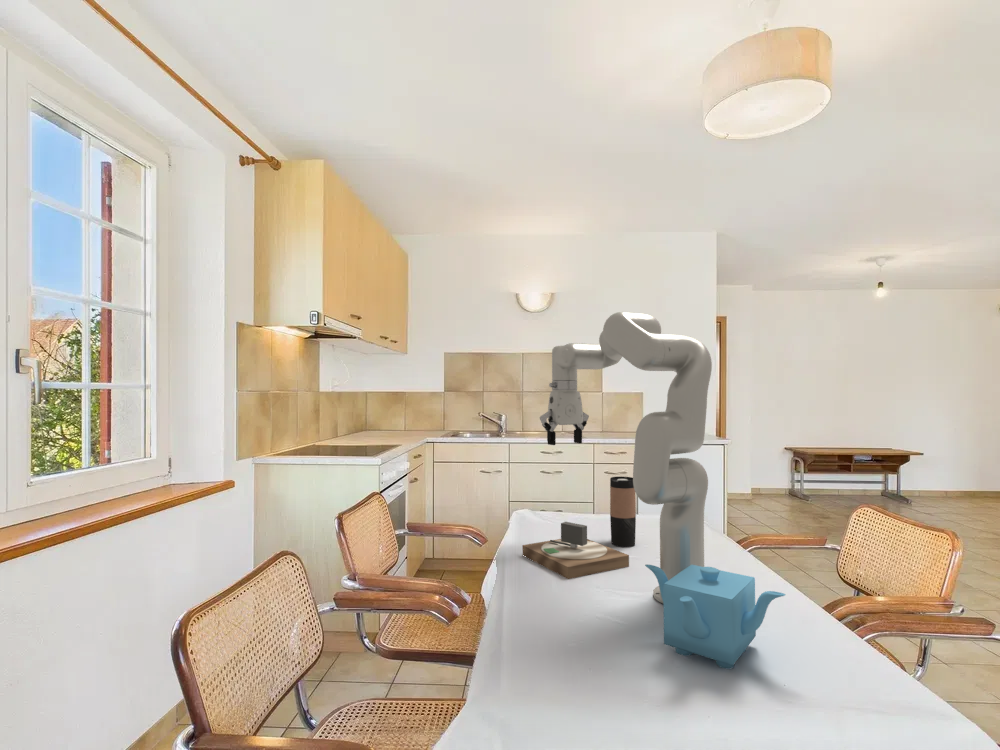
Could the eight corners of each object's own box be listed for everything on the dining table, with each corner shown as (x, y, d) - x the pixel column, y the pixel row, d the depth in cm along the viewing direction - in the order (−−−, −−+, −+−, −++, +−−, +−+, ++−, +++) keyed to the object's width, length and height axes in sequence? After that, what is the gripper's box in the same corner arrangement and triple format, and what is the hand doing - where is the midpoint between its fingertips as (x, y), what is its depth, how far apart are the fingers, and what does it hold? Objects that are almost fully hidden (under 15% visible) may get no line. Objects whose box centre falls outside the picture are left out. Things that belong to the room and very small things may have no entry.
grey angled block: (587, 548, 149) (587, 525, 149) (582, 550, 147) (582, 527, 147) (552, 540, 156) (552, 519, 157) (548, 542, 155) (547, 520, 155)
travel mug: (634, 540, 170) (633, 476, 170) (637, 547, 162) (637, 480, 163) (609, 540, 171) (608, 476, 171) (611, 547, 163) (611, 480, 163)
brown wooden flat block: (629, 566, 145) (628, 553, 145) (568, 579, 136) (567, 564, 136) (579, 545, 165) (578, 533, 165) (522, 555, 155) (522, 543, 155)
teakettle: (731, 626, 109) (730, 552, 109) (791, 674, 90) (789, 585, 91) (640, 631, 107) (639, 555, 107) (682, 681, 88) (681, 590, 89)
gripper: (547, 386, 156) (548, 446, 155) (595, 386, 164) (595, 443, 164) (533, 386, 162) (533, 444, 162) (579, 386, 171) (580, 441, 170)
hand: (564, 443), depth 163 cm, fingers open, 9 cm apart
